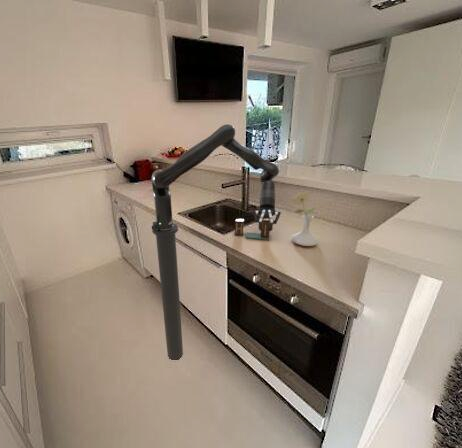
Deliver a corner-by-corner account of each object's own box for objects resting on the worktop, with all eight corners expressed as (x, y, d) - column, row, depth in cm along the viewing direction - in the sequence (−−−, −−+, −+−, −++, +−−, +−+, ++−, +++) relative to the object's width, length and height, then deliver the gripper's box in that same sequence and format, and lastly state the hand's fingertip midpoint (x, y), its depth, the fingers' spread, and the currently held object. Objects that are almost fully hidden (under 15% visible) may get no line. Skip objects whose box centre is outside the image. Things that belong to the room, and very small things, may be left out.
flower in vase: (314, 238, 121) (322, 189, 111) (319, 249, 110) (329, 195, 101) (286, 236, 124) (292, 188, 114) (289, 247, 114) (295, 195, 104)
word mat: (245, 238, 124) (246, 237, 124) (246, 233, 129) (247, 232, 129) (268, 240, 121) (268, 239, 121) (268, 235, 126) (268, 234, 126)
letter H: (234, 235, 128) (235, 221, 125) (235, 232, 131) (236, 218, 128) (242, 236, 127) (243, 221, 124) (243, 233, 130) (243, 219, 127)
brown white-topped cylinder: (260, 237, 123) (261, 222, 120) (260, 234, 126) (261, 219, 123) (268, 238, 122) (270, 223, 119) (268, 235, 125) (270, 220, 122)
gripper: (253, 195, 125) (250, 226, 119) (282, 196, 121) (281, 228, 115) (253, 202, 132) (250, 232, 126) (281, 203, 128) (279, 234, 122)
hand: (265, 230), depth 121 cm, fingers closed on brown white-topped cylinder, 4 cm apart
